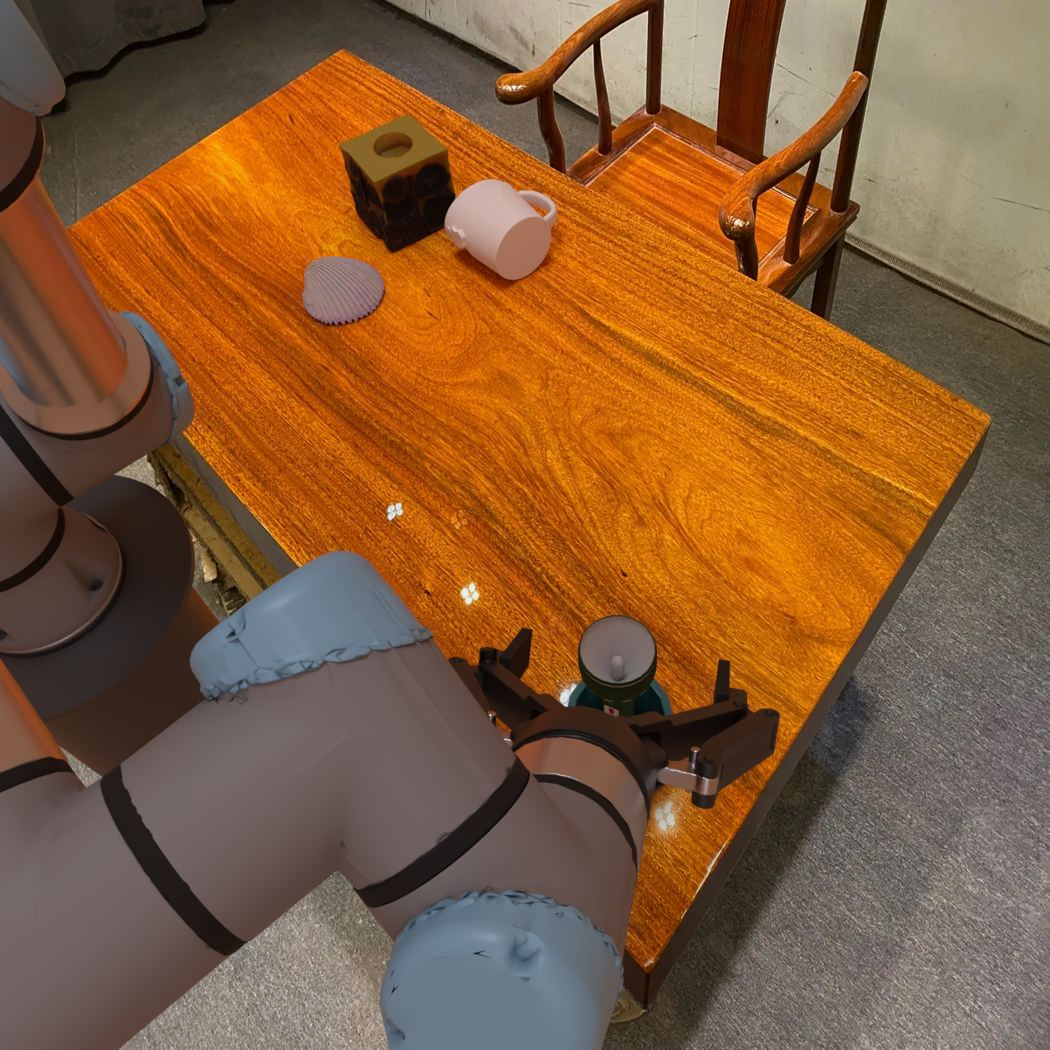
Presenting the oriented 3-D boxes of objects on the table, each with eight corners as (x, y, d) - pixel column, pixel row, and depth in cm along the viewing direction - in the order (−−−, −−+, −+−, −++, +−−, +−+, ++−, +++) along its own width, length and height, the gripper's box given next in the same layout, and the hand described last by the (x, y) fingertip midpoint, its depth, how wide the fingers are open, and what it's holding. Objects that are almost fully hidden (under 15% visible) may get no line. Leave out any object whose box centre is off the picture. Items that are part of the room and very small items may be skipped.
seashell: (326, 234, 112) (387, 242, 107) (344, 272, 116) (403, 282, 111) (271, 284, 108) (331, 296, 102) (292, 322, 112) (351, 335, 106)
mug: (494, 295, 108) (486, 239, 102) (449, 255, 113) (439, 199, 106) (575, 248, 112) (572, 191, 105) (528, 212, 116) (522, 155, 110)
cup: (608, 827, 73) (605, 785, 65) (555, 750, 77) (546, 701, 69) (686, 774, 75) (693, 727, 66) (630, 701, 79) (631, 648, 70)
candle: (391, 254, 114) (373, 184, 106) (354, 214, 119) (334, 144, 111) (462, 220, 117) (449, 149, 108) (422, 182, 122) (408, 111, 114)
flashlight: (577, 775, 75) (563, 667, 58) (602, 720, 77) (596, 602, 61) (636, 801, 73) (639, 698, 57) (660, 745, 76) (670, 629, 59)
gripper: (318, 828, 47) (444, 683, 67) (830, 937, 42) (799, 745, 62) (325, 689, 45) (452, 583, 66) (858, 785, 40) (817, 639, 61)
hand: (621, 662), depth 64 cm, fingers open, 13 cm apart
